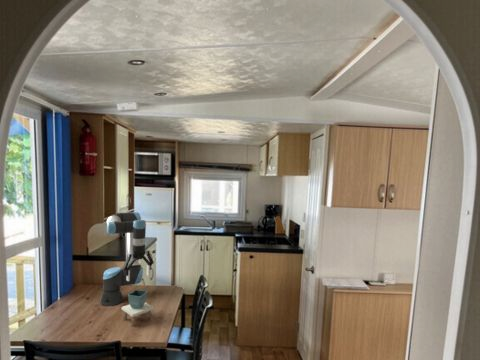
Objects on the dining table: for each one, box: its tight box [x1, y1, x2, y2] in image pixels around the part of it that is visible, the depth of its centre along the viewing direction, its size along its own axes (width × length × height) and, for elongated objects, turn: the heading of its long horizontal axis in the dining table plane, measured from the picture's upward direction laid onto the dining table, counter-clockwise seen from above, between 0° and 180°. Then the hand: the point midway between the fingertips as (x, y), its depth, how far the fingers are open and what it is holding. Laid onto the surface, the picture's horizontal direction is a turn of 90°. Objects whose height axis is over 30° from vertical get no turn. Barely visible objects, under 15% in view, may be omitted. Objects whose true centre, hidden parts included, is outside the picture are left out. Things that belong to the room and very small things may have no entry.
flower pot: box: [127, 289, 148, 309], centre depth 179 cm, size 9×9×9 cm
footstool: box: [121, 301, 154, 327], centre depth 179 cm, size 14×14×8 cm
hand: (138, 277), depth 179 cm, fingers open, 13 cm apart
